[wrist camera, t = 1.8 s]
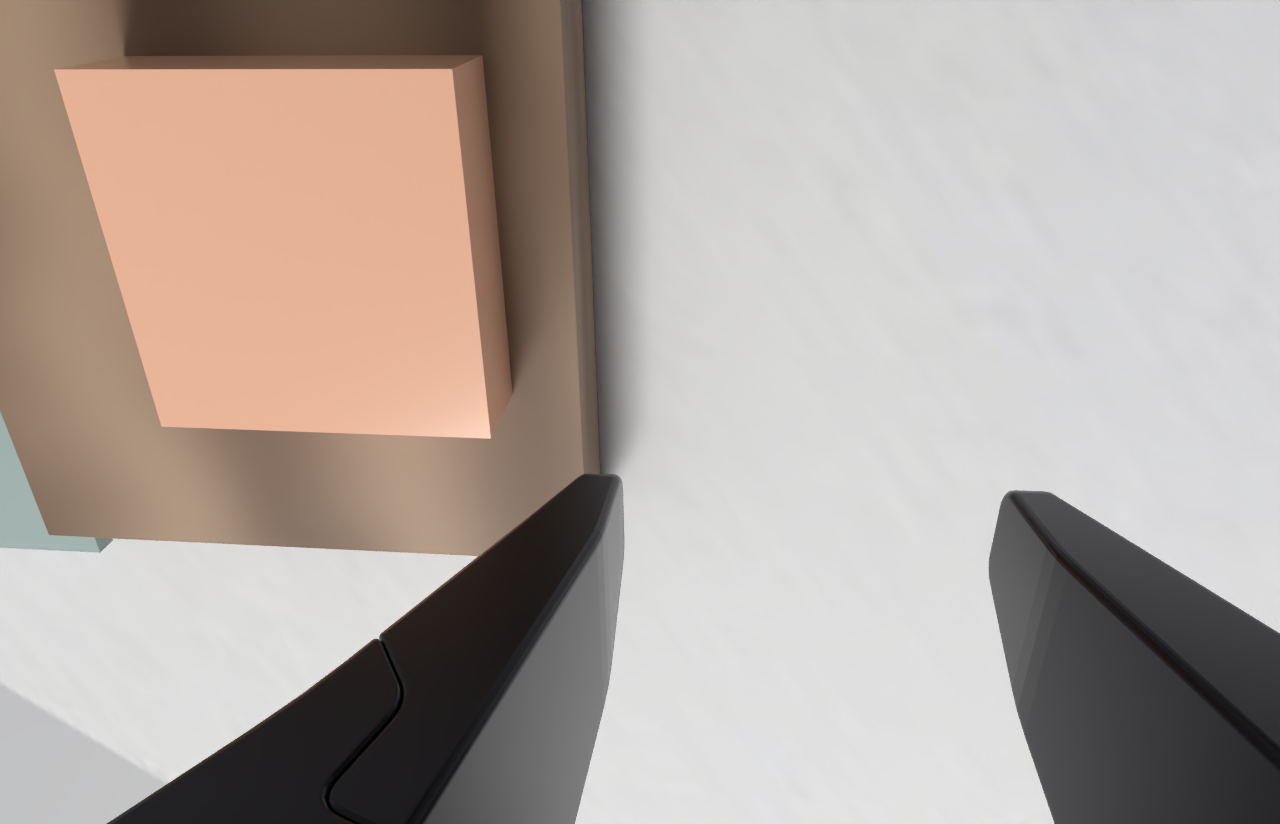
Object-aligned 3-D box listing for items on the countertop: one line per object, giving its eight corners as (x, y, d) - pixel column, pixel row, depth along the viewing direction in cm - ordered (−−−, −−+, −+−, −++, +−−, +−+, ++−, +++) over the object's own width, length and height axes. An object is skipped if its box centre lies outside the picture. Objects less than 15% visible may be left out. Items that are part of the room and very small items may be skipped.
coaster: (482, 55, 16) (451, 68, 15) (512, 394, 20) (490, 438, 18) (124, 56, 17) (54, 69, 15) (210, 384, 20) (161, 426, 19)
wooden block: (573, -223, 16) (547, -248, 14) (601, 504, 24) (587, 561, 22) (-127, -202, 18) (-249, -222, 15) (109, 483, 25) (49, 535, 23)
